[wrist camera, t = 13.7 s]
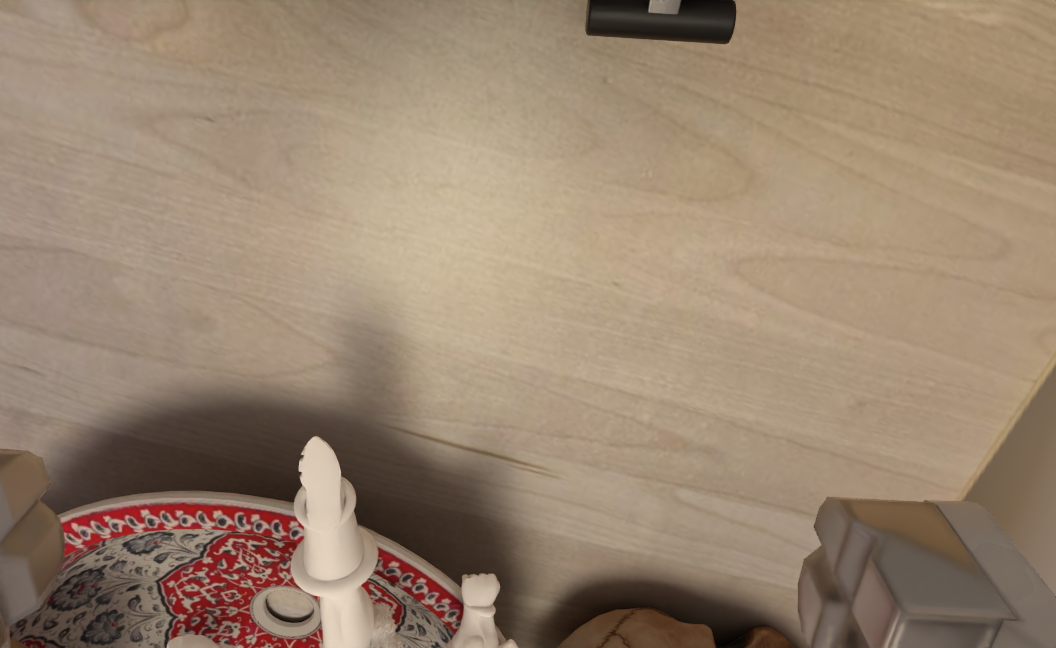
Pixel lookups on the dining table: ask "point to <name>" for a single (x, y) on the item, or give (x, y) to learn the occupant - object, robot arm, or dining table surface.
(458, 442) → the dining table surface
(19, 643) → the toy food set
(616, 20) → the switch lever
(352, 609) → the figurine
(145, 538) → the ceramic bowl
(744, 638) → the coin bank
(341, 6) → the dining table surface
